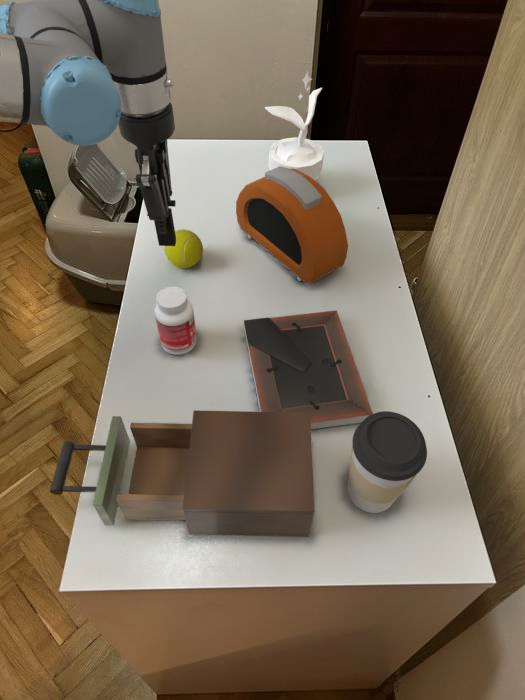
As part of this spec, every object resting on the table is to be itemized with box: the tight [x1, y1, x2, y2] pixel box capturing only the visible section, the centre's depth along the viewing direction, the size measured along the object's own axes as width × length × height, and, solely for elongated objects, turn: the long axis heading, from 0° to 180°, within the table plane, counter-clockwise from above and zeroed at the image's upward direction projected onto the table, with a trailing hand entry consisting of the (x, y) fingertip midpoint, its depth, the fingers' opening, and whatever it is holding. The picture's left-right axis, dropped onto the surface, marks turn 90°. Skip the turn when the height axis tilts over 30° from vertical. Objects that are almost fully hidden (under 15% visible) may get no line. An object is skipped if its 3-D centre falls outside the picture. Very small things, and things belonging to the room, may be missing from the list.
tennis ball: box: [164, 229, 204, 269], centre depth 100 cm, size 7×7×7 cm
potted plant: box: [264, 69, 325, 181], centre depth 108 cm, size 13×12×25 cm
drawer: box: [49, 415, 192, 527], centre depth 71 cm, size 21×13×7 cm, turn 89°
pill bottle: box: [154, 286, 198, 356], centre depth 86 cm, size 6×6×11 cm
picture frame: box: [243, 309, 374, 430], centre depth 86 cm, size 16×2×22 cm
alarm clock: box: [235, 166, 349, 284], centre depth 99 cm, size 23×9×17 cm, turn 38°
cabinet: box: [183, 409, 316, 538], centre depth 71 cm, size 16×14×9 cm
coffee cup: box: [347, 410, 428, 514], centre depth 69 cm, size 9×9×15 cm
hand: (167, 242), depth 89 cm, fingers closed
